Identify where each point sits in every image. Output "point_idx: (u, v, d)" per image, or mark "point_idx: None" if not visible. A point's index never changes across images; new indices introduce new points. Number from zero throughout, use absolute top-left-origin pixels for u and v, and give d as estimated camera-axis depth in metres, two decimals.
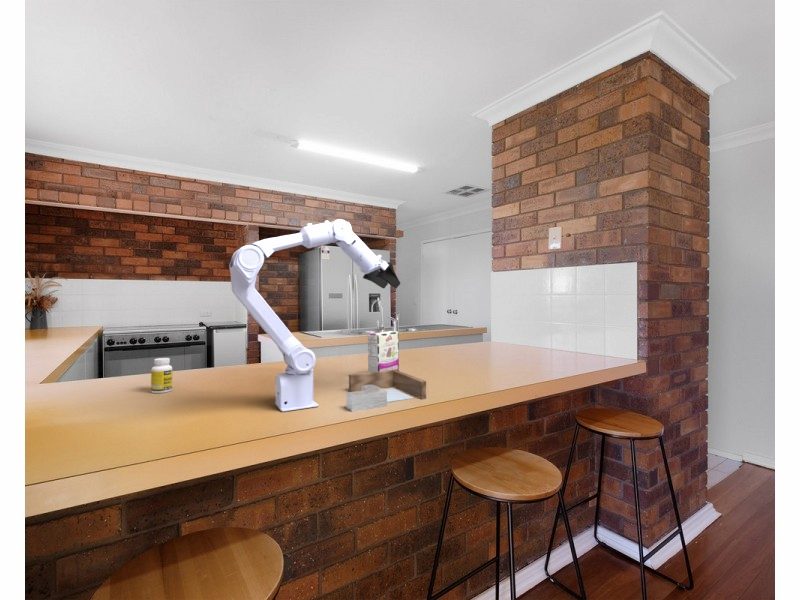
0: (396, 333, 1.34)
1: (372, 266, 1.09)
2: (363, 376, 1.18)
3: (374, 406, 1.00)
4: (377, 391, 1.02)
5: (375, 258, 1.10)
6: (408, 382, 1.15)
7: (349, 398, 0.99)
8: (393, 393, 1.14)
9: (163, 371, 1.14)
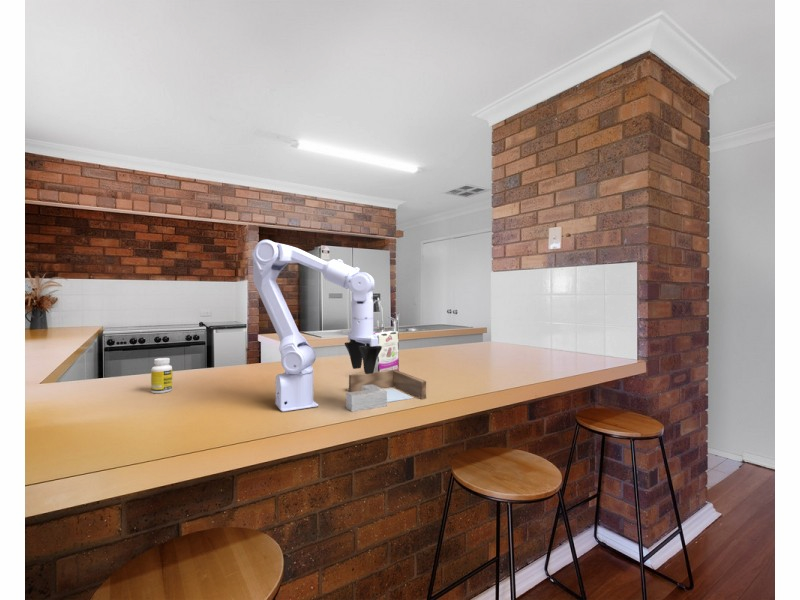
0: (396, 333, 1.34)
1: (363, 336, 0.97)
2: (363, 376, 1.18)
3: (374, 406, 1.00)
4: (377, 391, 1.02)
5: (371, 332, 0.99)
6: (408, 382, 1.15)
7: (349, 398, 0.99)
8: (393, 393, 1.14)
9: (163, 371, 1.14)
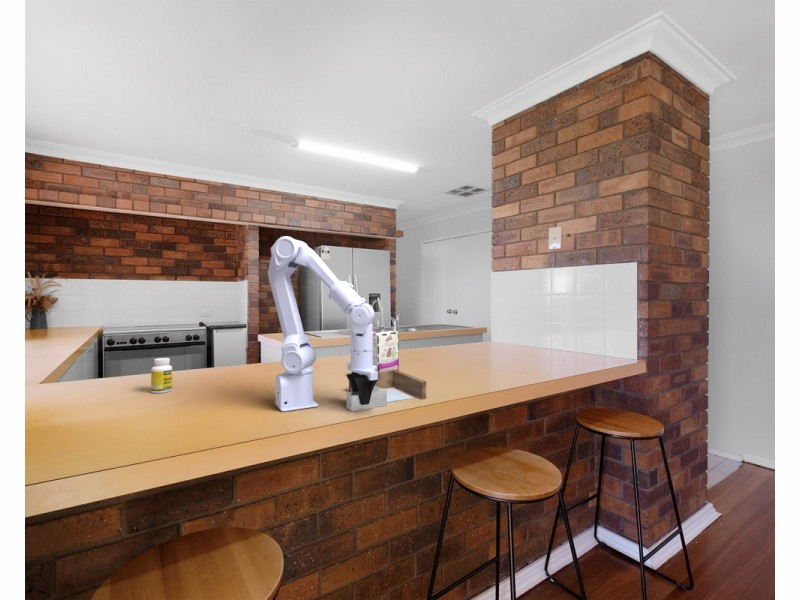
0: (396, 333, 1.34)
1: (362, 368, 0.97)
2: None
3: (374, 406, 1.00)
4: (377, 391, 1.02)
5: (370, 364, 0.99)
6: (408, 382, 1.15)
7: (349, 398, 0.99)
8: (393, 393, 1.14)
9: (163, 371, 1.14)
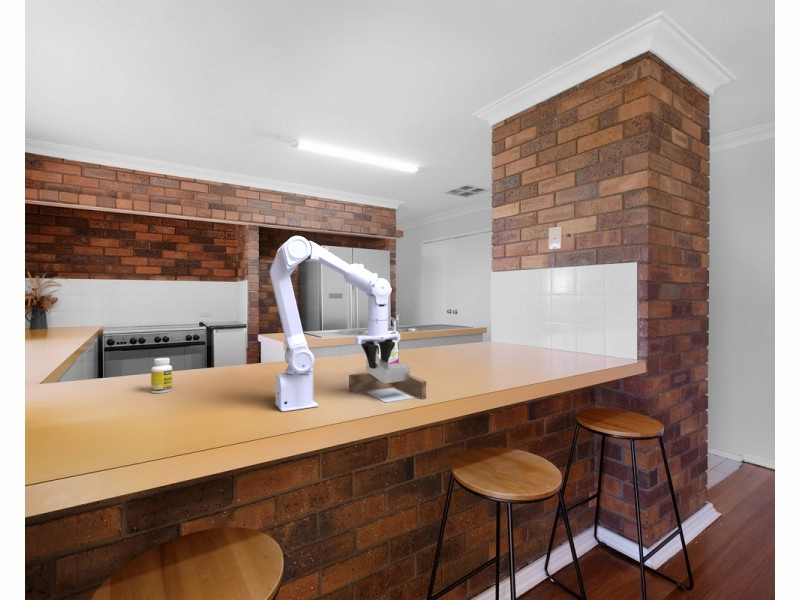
0: None
1: (368, 335, 1.10)
2: (363, 376, 1.18)
3: (377, 377, 1.08)
4: (383, 366, 1.07)
5: (373, 333, 1.08)
6: (408, 382, 1.15)
7: None
8: (393, 393, 1.14)
9: (163, 371, 1.14)
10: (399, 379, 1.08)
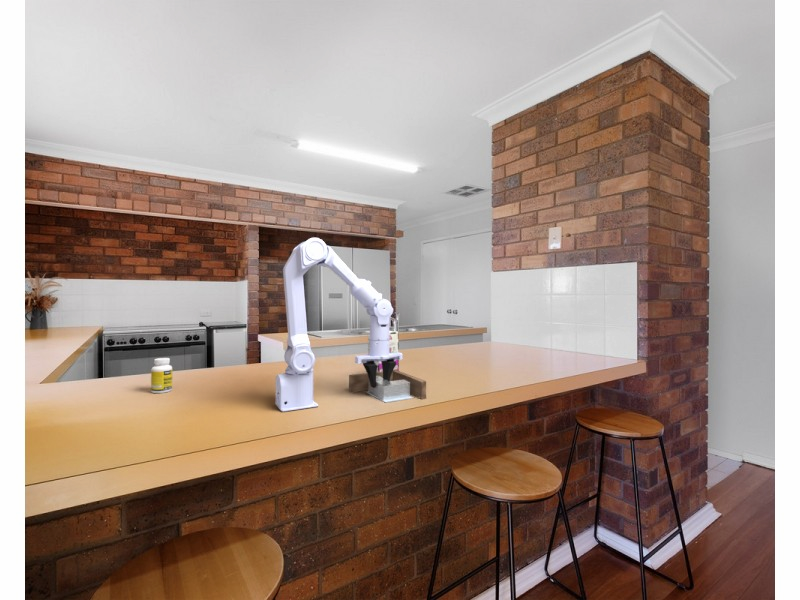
0: (396, 333, 1.34)
1: (369, 354, 1.12)
2: (363, 376, 1.18)
3: (377, 395, 1.10)
4: (382, 383, 1.09)
5: (374, 353, 1.10)
6: None
7: None
8: None
9: (163, 371, 1.14)
10: (399, 396, 1.09)
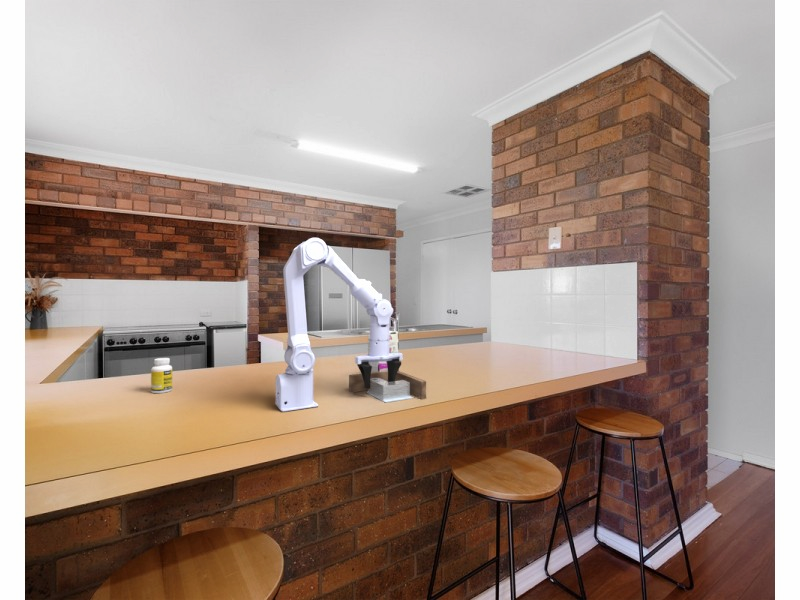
0: (396, 333, 1.34)
1: (369, 354, 1.12)
2: None
3: (377, 395, 1.10)
4: (382, 383, 1.09)
5: (374, 353, 1.10)
6: None
7: None
8: None
9: (163, 371, 1.14)
10: (399, 396, 1.09)
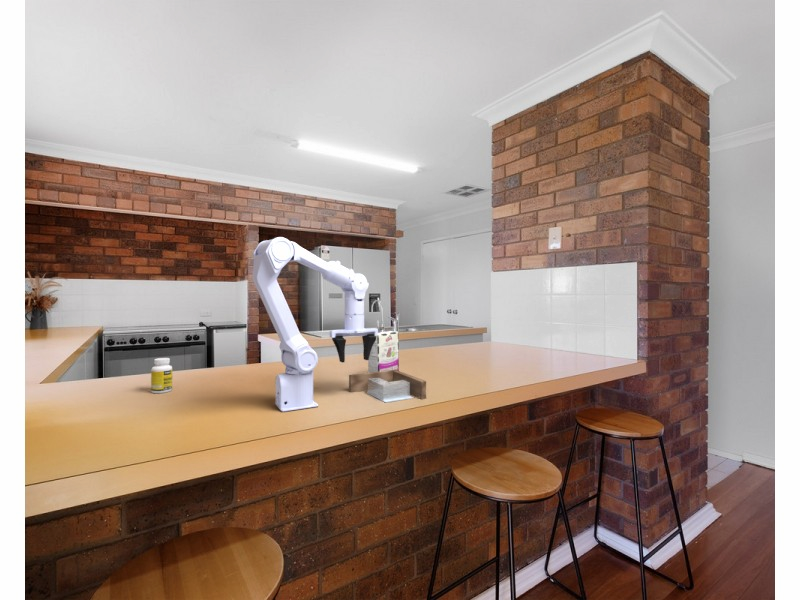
0: (396, 333, 1.34)
1: (344, 329, 1.13)
2: (363, 376, 1.18)
3: (377, 395, 1.10)
4: (382, 383, 1.09)
5: (348, 327, 1.11)
6: None
7: None
8: None
9: (163, 371, 1.14)
10: (399, 396, 1.09)
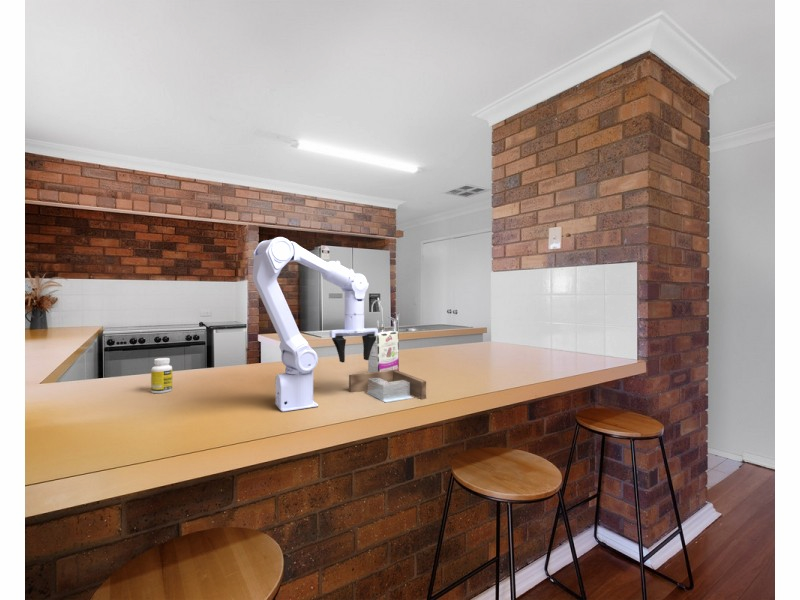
0: (396, 333, 1.34)
1: (344, 329, 1.13)
2: (363, 376, 1.18)
3: (377, 395, 1.10)
4: (382, 383, 1.09)
5: (348, 327, 1.11)
6: None
7: None
8: None
9: (163, 371, 1.14)
10: (399, 396, 1.09)
